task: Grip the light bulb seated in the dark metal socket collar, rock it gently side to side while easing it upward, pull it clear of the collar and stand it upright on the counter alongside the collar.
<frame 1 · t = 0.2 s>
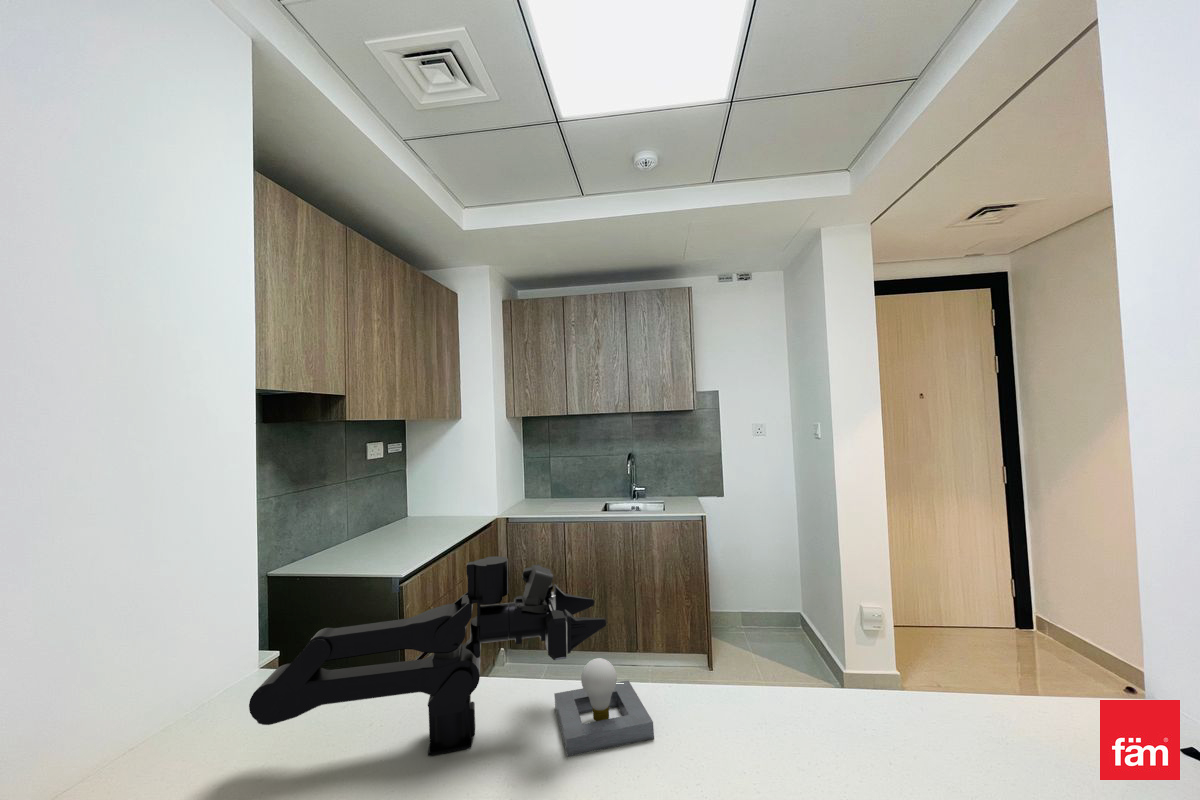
hand: (599, 611, 84), 17 cm above the counter, tool horizontal, fingers open, 9 cm apart
socket collar: (601, 722, 80), on the counter
light bulb: (601, 723, 80), resting in socket collar
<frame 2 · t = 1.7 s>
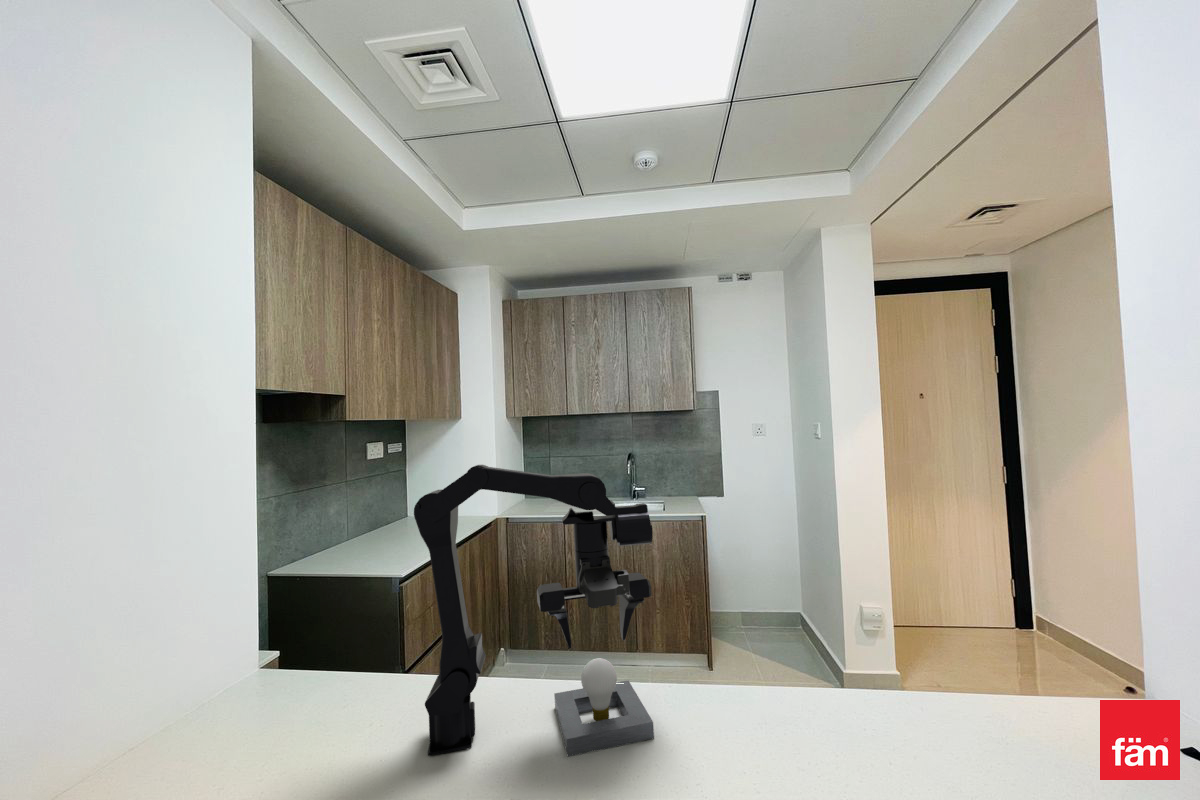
hand: (596, 643, 81), 13 cm above the counter, tool pointing down, fingers open, 9 cm apart
nothing on the counter moved.
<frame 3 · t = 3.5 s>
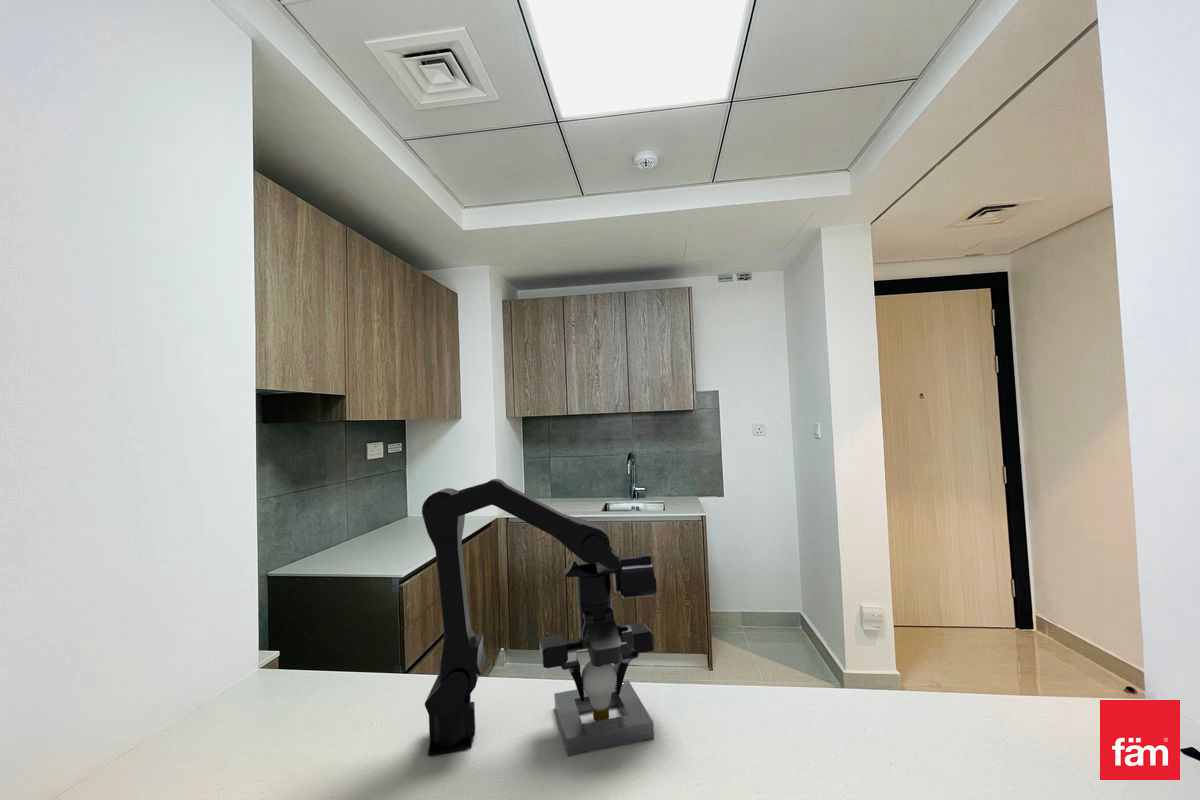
hand: (600, 697, 80), 4 cm above the counter, tool pointing down, fingers closed on light bulb, 6 cm apart
light bulb: (601, 723, 80), resting in socket collar, touching gripper
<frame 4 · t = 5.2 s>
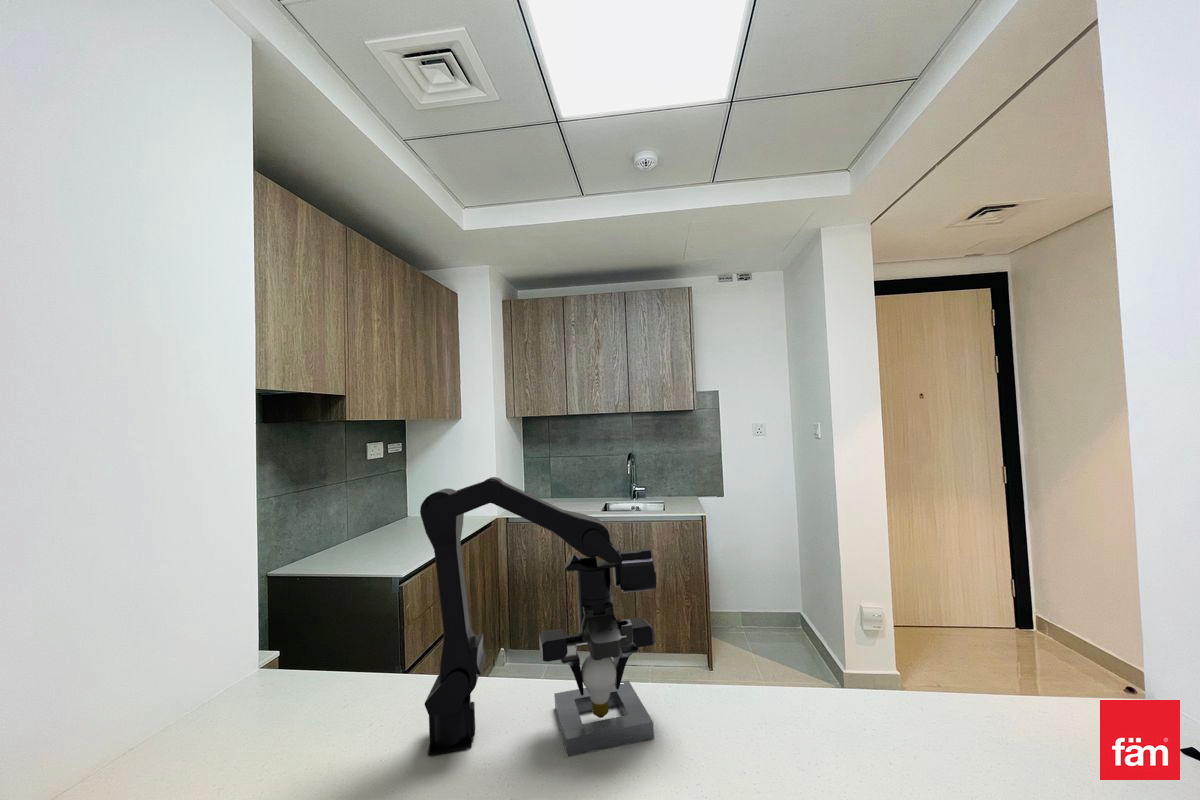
hand: (599, 691, 80), 5 cm above the counter, tool pointing down, fingers closed on light bulb, 6 cm apart
light bulb: (601, 718, 80), point 1 cm above the counter, touching gripper
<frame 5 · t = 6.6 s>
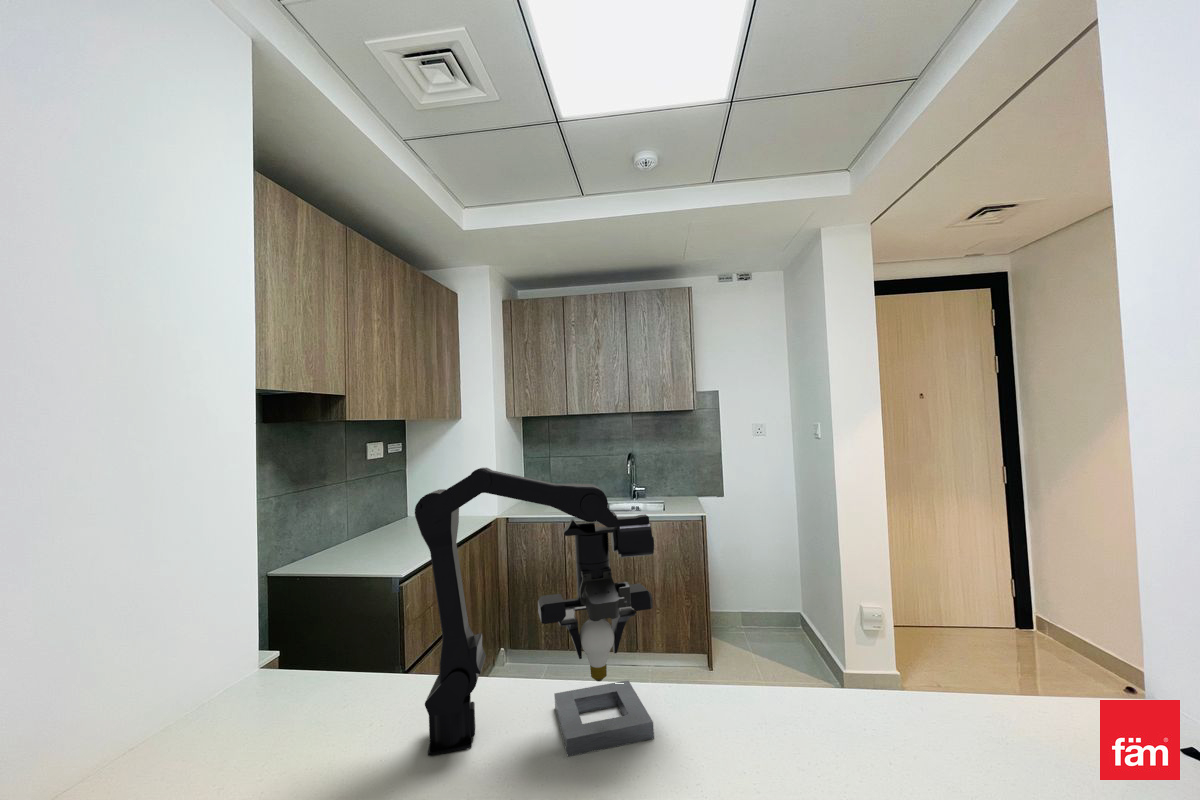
hand: (597, 655, 81), 11 cm above the counter, tool pointing down, fingers closed on light bulb, 6 cm apart
light bulb: (599, 681, 80), point 6 cm above the counter, touching gripper
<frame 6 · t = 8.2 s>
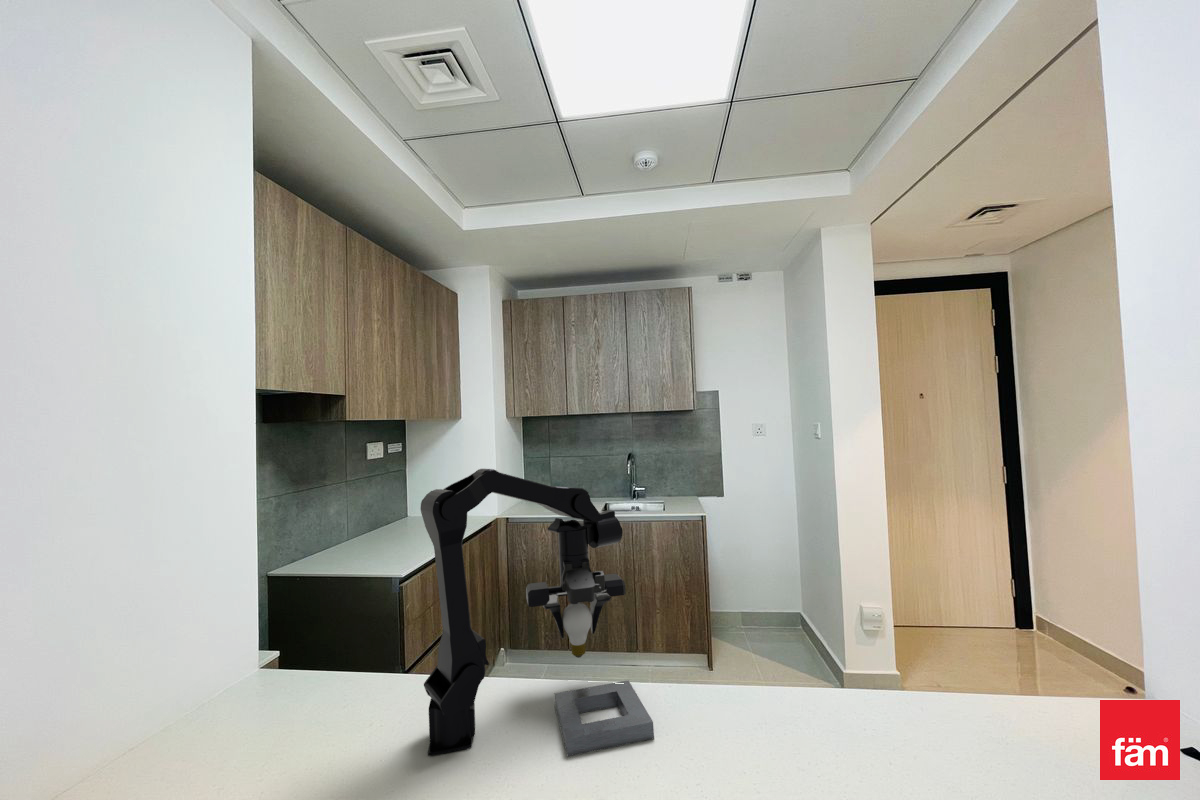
hand: (577, 635, 93), 9 cm above the counter, tool pointing down, fingers closed on light bulb, 6 cm apart
light bulb: (578, 658, 93), point 5 cm above the counter, touching gripper
when the fingers open (5 cm above the counter, at t = 9.7 s): light bulb stays where it is, on the counter.
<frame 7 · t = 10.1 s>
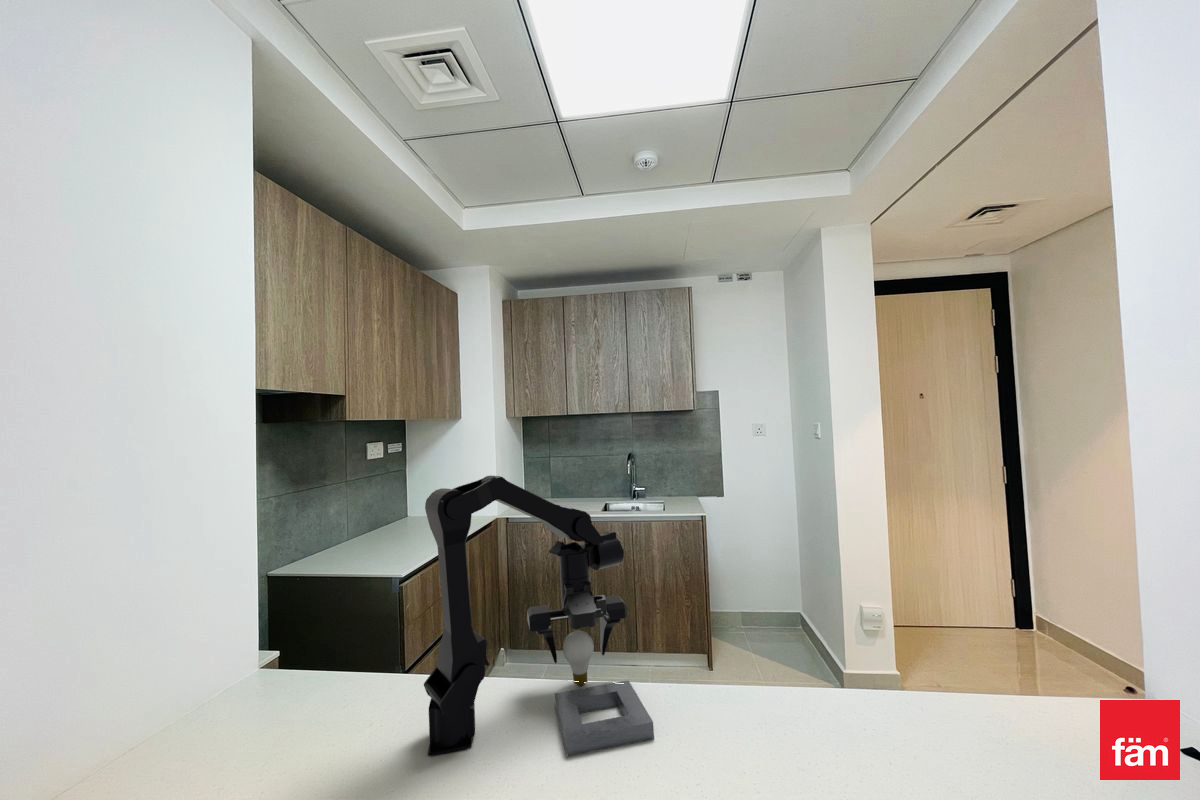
hand: (579, 658, 93), 5 cm above the counter, tool pointing down, fingers open, 9 cm apart
light bulb: (580, 686, 92), on the counter
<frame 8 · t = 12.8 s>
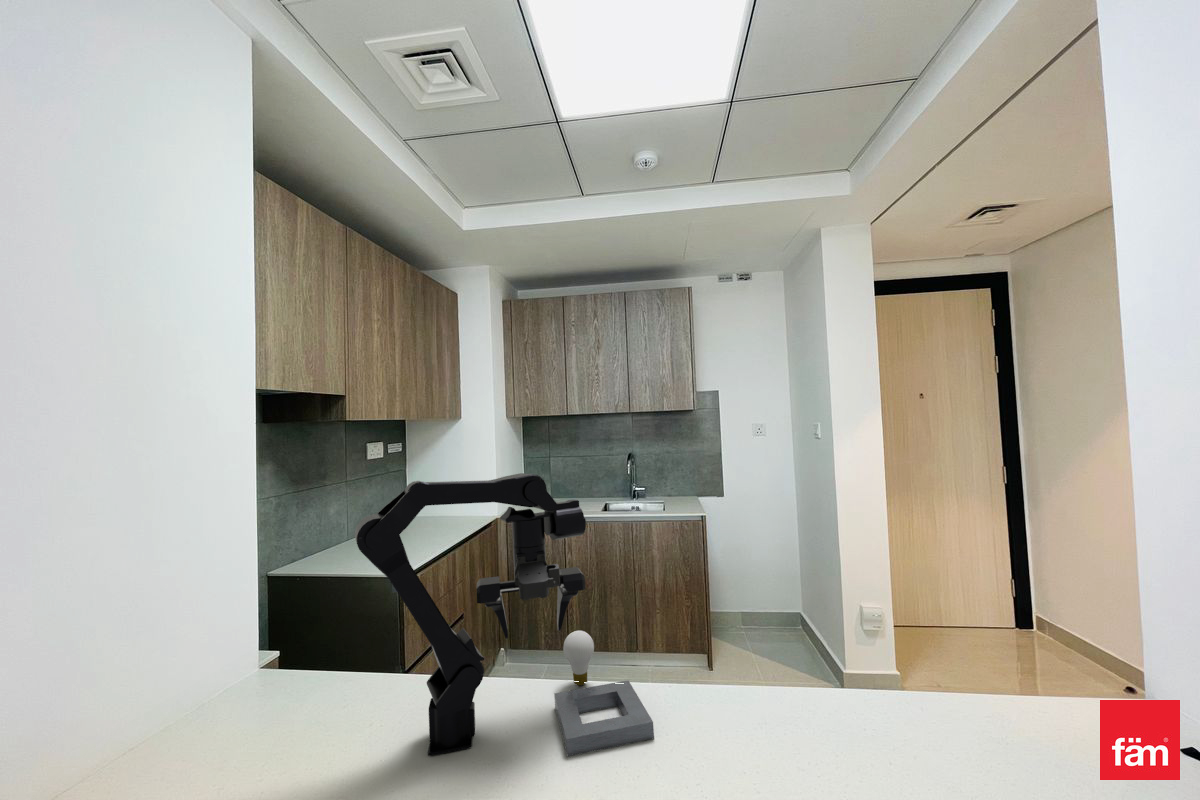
hand: (533, 634, 86), 13 cm above the counter, tool pointing down, fingers open, 9 cm apart
nothing on the counter moved.
at the end: light bulb inside the target area (0.1 cm from its centre), on the counter; light bulb tilted 0°; the gripper is holding nothing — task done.
